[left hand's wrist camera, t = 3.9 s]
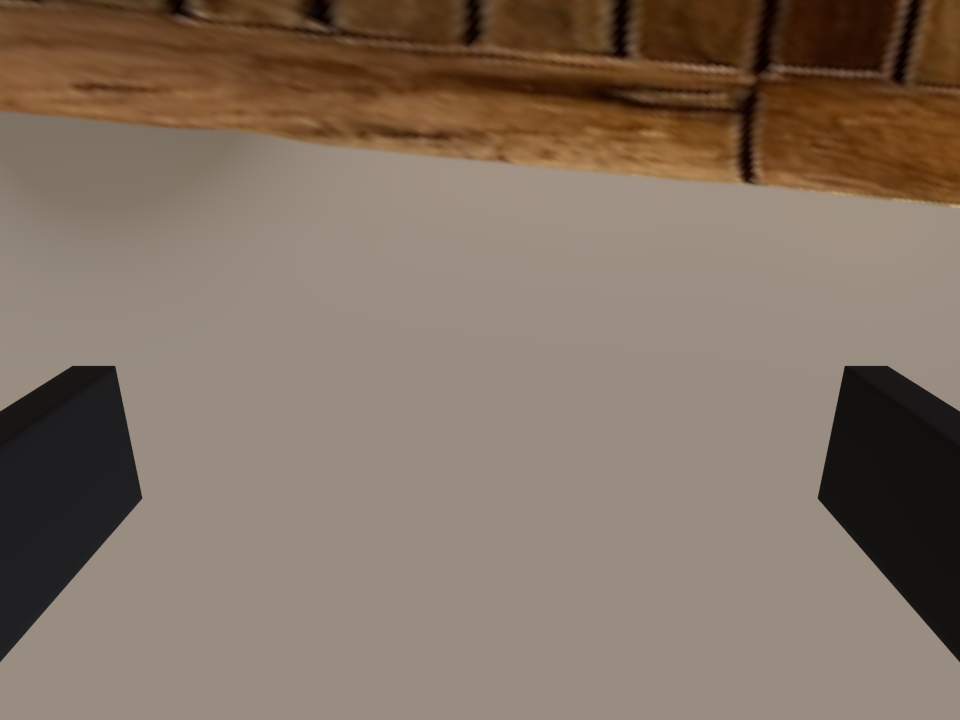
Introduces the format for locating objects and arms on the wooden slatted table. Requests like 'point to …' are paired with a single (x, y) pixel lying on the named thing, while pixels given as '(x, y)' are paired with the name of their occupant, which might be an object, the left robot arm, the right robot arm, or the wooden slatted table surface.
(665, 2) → the wooden slatted table surface
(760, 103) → the wooden slatted table surface
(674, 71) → the wooden slatted table surface
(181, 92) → the wooden slatted table surface
